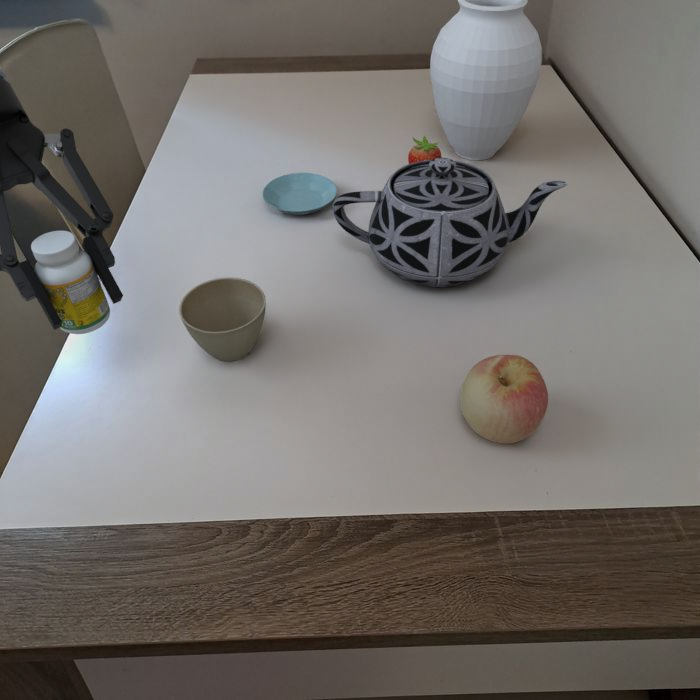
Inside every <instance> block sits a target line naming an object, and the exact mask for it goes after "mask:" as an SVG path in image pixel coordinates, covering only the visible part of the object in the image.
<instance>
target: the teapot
mask: <svg viewBox="0 0 700 700" xmlns="http://www.w3.org/2000/svg"><path fill="white" fill-rule="evenodd" d="M568 185H569V183H568V182H567V181H564V180H549V181H545V182H542V183H540V184H539V185H537V186H536V187H535V188H534V189H533V190H532V191H531V192H530V194H529V196H527V198H526V200H525V201H524V203H522V205H521V206H520V207H518V208H517V209H515V210H512V211H509V212H506V211H505V207H504V205H503V202H502V199H501V196H500V193H499V190H498V189H497V186H496V183H495V181H494V179H493V178H492V177H491V175H489V174H488V173H487V172H486V171H484V170H483V169H481V168H480V167H478V166H475V165H473V164H470V163H468V162H464V161H458V160H454V159H451V158H448V157H441V158H436V159H433V160H424V161H418V162H414V163H411V164H409V163H408V164H406V165H403V166H401V167H400V168H397V170H395V171H394V172H393V173H392V174H391V175H390V176H389V178H388V179H387V182H386V183H385V185H384V187H383V188H382V190H362V191H361V190H360V191H351V192H350V191H349V192H345V193H342V194H339V195H338V196H336V197H335V198H334V199H333V200H334V201H333V202H332V212H333V216H334V219H335V221H336V222H337V224H338V225H339V226H340V227H341V229H343V230H344V231H345V232H346V233H348V235H351V236H352V237H353V238H355V239H356V240H359V241H361V242H363V243H366V244H367V245H368V244H369V247H370V249H371V251H372V253H373V255H374V256H375V259H377V261H378V262H379V263H380V265H382V266H383V267H384V268H385V269H387V270H388V271H390V272H391V273H393V274H394V275H396V276H398V277H399V278H401V279H403V280H404V281H407V282H410V283H412V284H416V285H419V286H425V287H436V288H443V287H451V286H457V285H462V284H464V283H467V282H470V281H472V280H474V279H476V278H478V277H480V276H482V275H485V274H487V272H489V271H490V270H491V269H493V268H494V267H495V266H497V264H498V262H500V260H501V259H502V257H503V255H504V254H505V251H506V248H507V245H508V244H509V243H512V242H515V241H517V240H518V239H520V238H521V237H523V236H524V235H525V234H526V233H527V232H528V231H529V230H530V229H531V226H532V224H533V223H534V221H535V219H536V217H537V215H538V213H539V211H540V209H541V206H542V205H543V203H544V202H545V201H546V199H547V198H548V197H549V196H550V195H552V193H554V192H555V191H558V190H560V189H562V188H565V187H567V186H568ZM360 203H362V204H365V203H375V205H374V207H373V209H372V212H371V215H370V220H369V223H368V231H366V230H365V229H362V228H361V227H359V226H358V225H356V224H355V223H353V221H351V219H350V218H349V217H348V215H347V214H346V212H345V209H344V207H345V206H347V205H351V204H360Z"/></svg>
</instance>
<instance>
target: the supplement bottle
mask: <svg viewBox="0 0 700 700" xmlns="http://www.w3.org/2000/svg"><path fill="white" fill-rule="evenodd" d="M30 249H31V252H32V255H33V257H34V259H35V260H36V263H35V265H34V268H33V270H34V272H35V273H36V275H37V277H38V279H39V281H40V282H41V284H42V286H43V288H44V290H45V291H46V293H47V295H48V297H49V299H50V301H51V302H52V304H53V306H54V308H55V310H56V311H57V313H58V315H59V317H60V319H61V320H62V327H60V328H59V329H60V331H63V332H65V333H66V334H72V335H84V334H88V333H92V332H94V331H97V330H98V329H100V328H102V327H103V326H104V325H106V323H107V322H108V320H109V319H110V316H111V308H110V304H109V301H108V299H107V297H106V293H105V291H104V289H103V285H102V282H101V280H100V278H99V276H98V274H97V272H96V270H95V267H94V264H93V262H92V259H91V257H90V256H89V255H88V254H87V253H86V252H85V251H84V249H81V248H80V245H79V243H78V240H77V238H76V236H75V235H74V234H73V232H70V231H68V230H53V231H49V232H45V233H43V234H41V235H39V236H38V237H36V238H35V239H33V241H32V242H31V245H30Z"/></svg>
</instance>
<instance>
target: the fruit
mask: <svg viewBox="0 0 700 700" xmlns="http://www.w3.org/2000/svg"><path fill="white" fill-rule="evenodd" d="M412 140H413V142H414V143H415V144H416V145H414V146H413V147H412V148H410V150H409V152H408V157H407V161H408V164H411V163H414V162H418V161H424V160H433V159H436V158H442V152H441V150H440V148H439V146H438V145H439V143H440V141H439V142H433V143H431V142H429V140H428V139H427V137H426V135H423V137H422V141H420V140H417V139H415V137H412Z"/></svg>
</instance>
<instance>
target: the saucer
mask: <svg viewBox="0 0 700 700" xmlns="http://www.w3.org/2000/svg"><path fill="white" fill-rule="evenodd" d="M337 193H338V189H337V186H336V184H335V182H334V181H333V180H331V179H330V178H328V177H326V176H324V175H322V174H317V173H312V172H294V173H287V174H283V175H281V176H278V177H275V178H274V179H272V180H271V181H270V182H268V183H267V184H266V185H265V186H264V187H263V190H262V198H263V200H264V202H265V203H267V204H268V205H269V206H270V207H271V208H273V209H275V210H277V211H280V212H282V213H284V214H289V215H307V214H311V213H315V212H317V211H319V210H322V209H323V208H325V207H326V206H327V205H329V204H330V203H331V202H332V201H333V200H335V199H336V197H337Z"/></svg>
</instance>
